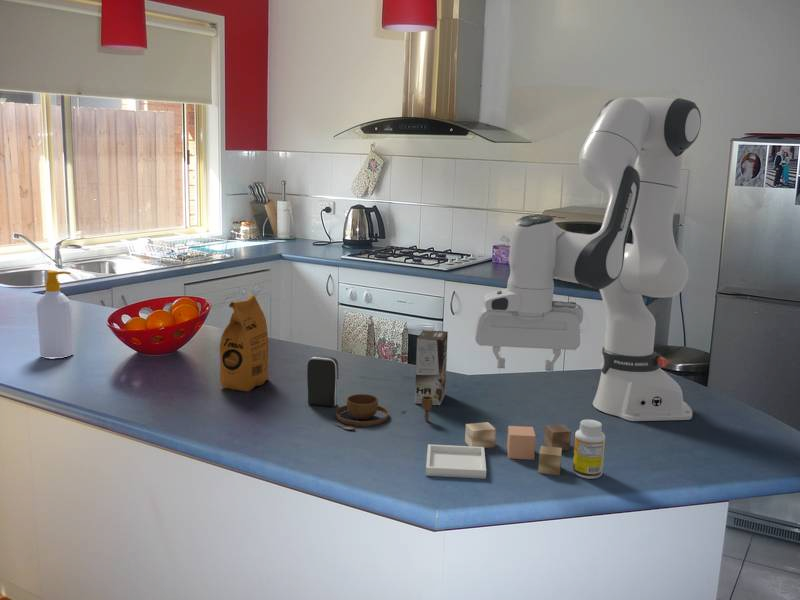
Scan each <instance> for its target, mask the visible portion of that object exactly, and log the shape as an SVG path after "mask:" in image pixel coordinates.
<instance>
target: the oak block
mask: <svg viewBox="0 0 800 600" xmlns="http://www.w3.org/2000/svg"><path fill="white" fill-rule="evenodd" d="M562 451H563V450H562V448H558V447H550V446H547V445H540V449H539V452H538V453H539V456H538V469H537V473H540V474H545V475H546V474H547V475H552V476H553V475H554V476H560V475H561V467H562V465H561V464H562V454H563V453H562Z"/></svg>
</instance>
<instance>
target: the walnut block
mask: <svg viewBox="0 0 800 600" xmlns="http://www.w3.org/2000/svg"><path fill="white" fill-rule="evenodd" d="M571 441H572V430H570V429H569V428H568V427H567V426H566V425H565V424H547V425H545V427H544V445H545V446H550V447H558V448H562V451H567V450H571V445H572V444H571Z"/></svg>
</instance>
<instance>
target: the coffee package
mask: <svg viewBox="0 0 800 600" xmlns="http://www.w3.org/2000/svg"><path fill="white" fill-rule="evenodd" d="M228 307H229V308H231V309H232V310H233V312H232V314H231V315H230V319H229V323H228V324H227V325H226V327H225V329H224V330H223V333H222V334H221V338H220V342H219V359H220V367H219V368H220V372H219V373H220V376H219V377H220V379H219V383H220V385H221V386H222V388H223V389H230V390H233V391H235V390H236V391H240V392H250V391H251V390H253V389H254V388H255V387H258V386H259V387H260V386H263V385H264V384H265V382H266V381H267V380H269V333H268V326H267V324H268V323H267V320H266V317H265V314H264V312H263V310H262V308H261V306H260V304H259V302H258V300H257V297H256V296H255V294H250V295H248V298H247V299H246V300H239V301H238V300H237V301H231V302H230V303H229V305H228Z"/></svg>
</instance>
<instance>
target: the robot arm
mask: <svg viewBox="0 0 800 600" xmlns="http://www.w3.org/2000/svg"><path fill="white" fill-rule="evenodd" d="M701 124H702V116H701V111H700V109H699V107H698V106H697V104H696V103H695V102H694V101H692V100H689V99H686V98H685V99H684V98H680V97H678V98H670V97H664V96H663V97H662V96H647V97H641V96H640V97H619V98H618V97H616V98H614V99H610V100H609V101H607V102H606V103H605V104H604V105H603V106H602V107H601V109H600V111H599V113H598V116H597V119H596V121H595V122H594V124H593V125H592V127H591V129H590V131H589V132H588V135H587V137H586V138H585V141H584V143H583V145H582V147H581V149H580V152H579V156H578V165H579V166H578V167H579V169H580V172H581V175H583V177H584V179H585V180H586V181H587V182H588V183H590V185H592V186H593V187H594V188H596V189H597V190H599V191H601V192H602V193H605V194H606V195H608V196H609V198H608V202H607V207H606V208H605V213H604V217H603V220H602V223H601V227H600V229H599V230H598V231H597V232H594V233H592V234H587V233H578V232H572V231H568V230H565V229H563V228H561V227H560V226H558V225H557V223H556V221H555V218H554V217H553V216H550V215H547V214H530V215H524V216H522V217H520V218H519V219H516V221H515V223H514V225H513V228H512V230H511V231H512V233H511V236H510V237H511V238H510V242H509V243H510V244H509V251H508V252H509V253H508V254H509V255H508V265H509V269H510V271H509V276H508V280H507V283H506V288H503V289H499V290H496V291H490V292H488V293H486V294H484V296H483V307H481V309H480V311H479V312H478V316H477V319H476V324H475V332H474V340H475V342H476V344H477V345H478V346H481V347H482V346H483V347H484V346H485V347H492V353H493V354H494V356H495V359H496V368H497V369H505V367H506V358H505V357H501V355H500V353H499V352H501V347H505V348H523V349H525V348H527V349H545V350H546V349H547V350H551V352H552V356H551V357H550V358H549V359H545V360H544V361H545V362H544V363H545V365H544V370H545V371H549V372H553V371H554V369H555V367H554V366H555V363H556V362H557V360H558V359H559V358H560V356H561V352H562V351H563V350H567V351H575V350H577V349H578V348H579V347H580V345H581V329H580V328H581V327H580V324H581V323H582V322H583V318H584V310H583V307H582V306H581V305H580V304H577V303H576V301H569V302H568V301H559V300H554V292H555V291H554V287H555V283H554V279H555V280H560V281H564V282H570V283H574V284H580V285H581V286H584V287H588V288H591V289H595V290H599V292H600V296H601V299H602V302H603V307H604V312H605V331H604V332H605V334H604V335H605V336H604V346H603V347H602V350H601V356H600V372H601V373H600V377H599V382H598V386H597V390H596V392H595V396H594V398H593V401H592V405H593V407H594V408H595V409H597V410H599V411H601V412H603V413H605V414H608V415H611V416H616V417H619V418H621V419H624V420H626V421H629V422H645V421H646V422H650V421H654V422H656V421H689V420H691V419H692V418H693V410H692V408H691V407H690V406H689V404H688V403H686V402H685V401H684V397H683V391H682V388H681V386H680V384H679V383H677V381H676V380H675V379H673V378H672V377H671V376H670V375H669V374H667V372H666V371H664V370H663V369H661V368H665V367H666V366H667V365H668V360H667V359H666V358H665V357H664V356H662V355H661V354H659V353H657V352H655V351H654V347H655V336H656V325H657V323H656V319H655V316H654V315H653V313H651V312H650V310H649V309H648V307H647V306H646V304H645V302H644V299H643V296H645V297H649V298H658V299H659V298H673V297H676V296H677V295H679V294H680V293H681V292H682V291H683V289H684V288H685V287H686V285H687V283H688V280H689V267H688V264H687V262H686V260H685V258H684V257H683V255H682V254H681V253H680V252H679V250H678V248H677V244H676V241H675V238H674V237H675V236H674V230H673V229H674V227H673V221H674V216H675V215H674V214H675V209H676V204H677V203H676V201H677V197H678V192H679V186H680V181H681V174H682V161H683V153H685V151H686V150H688V149H689V148H690V147H691V146H692V145H693V144H694V143H695V141H696V140H697V138H698V136H699V134H700V131H701V126H702V125H701ZM630 230H631V231H632V236H633V237H632V238H633V243H628V242H627V241H628V237H629V232H630Z"/></svg>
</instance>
